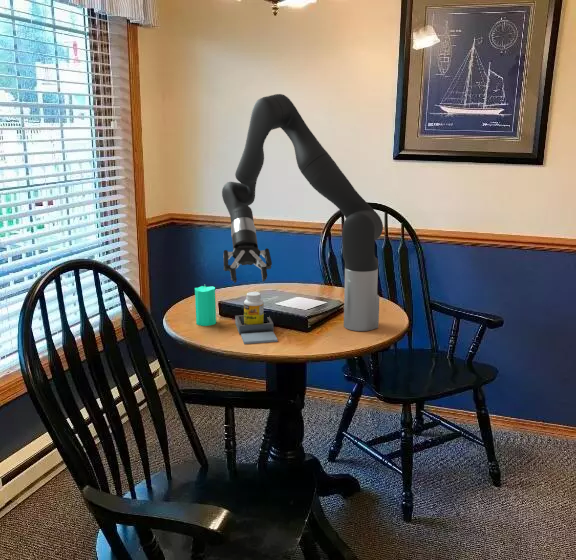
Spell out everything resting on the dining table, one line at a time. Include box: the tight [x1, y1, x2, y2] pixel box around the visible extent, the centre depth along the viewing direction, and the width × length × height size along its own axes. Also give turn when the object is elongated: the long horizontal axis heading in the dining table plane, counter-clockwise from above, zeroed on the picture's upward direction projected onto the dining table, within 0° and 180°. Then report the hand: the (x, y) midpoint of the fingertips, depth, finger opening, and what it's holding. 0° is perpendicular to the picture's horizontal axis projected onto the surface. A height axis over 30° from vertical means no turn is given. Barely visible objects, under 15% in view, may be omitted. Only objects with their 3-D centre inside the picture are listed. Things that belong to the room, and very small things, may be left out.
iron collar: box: [234, 314, 275, 336], centre depth 169 cm, size 10×10×2 cm
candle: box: [194, 285, 217, 327], centre depth 173 cm, size 6×6×12 cm
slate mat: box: [240, 332, 278, 345], centre depth 160 cm, size 9×7×1 cm
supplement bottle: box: [243, 291, 265, 325], centre depth 168 cm, size 6×6×10 cm
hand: (249, 280), depth 174 cm, fingers open, 8 cm apart
